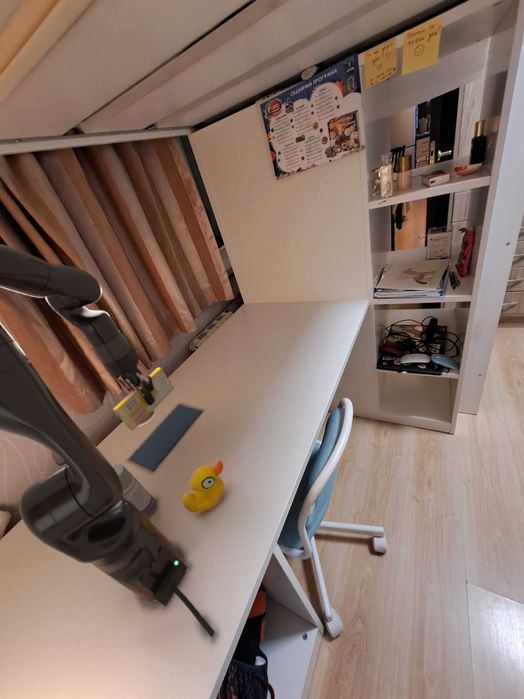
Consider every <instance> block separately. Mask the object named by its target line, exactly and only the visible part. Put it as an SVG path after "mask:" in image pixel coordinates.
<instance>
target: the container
mask: <svg viewBox="0 0 524 699" xmlns="http://www.w3.org/2000/svg"><path fill="white" fill-rule="evenodd" d="M112 467H113V468H114V469H115V471H116V473H117V474H118V476H119V478H120V481H121V483H122V486H123V496H122V499H126V500H128V501H130V502H131V503H133V504H134V505H135V506H136V507H137V508H138V509H139V510H140V511H141V512H142V513H143V514H144V515H145V516H146V517H147V518H148V517H150V516H151V515H152V514H153V512H154V511H155V509H156V507H157V501H156V499H155V498H154V497H153V496H152V495H151V493H149V491H148V490H147V489H146V487H145V486H144V485H142V483H141V482H140V481H139V480H138V479H137V478H136V477H135V476H134V475H133V474H132V472H130V471H129V470H128V469H127V467H126V466H124V464H122V463H119V462H118V463H115V464H113V465H112Z"/></svg>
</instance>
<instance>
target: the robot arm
mask: <svg viewBox="0 0 524 699" xmlns="http://www.w3.org/2000/svg"><path fill="white" fill-rule="evenodd" d="M0 288H3V289H6V290H8V291H12V292H16V293H18V294H22V295H26V296H29V297H32V298H33V297H34V298H42V299H43V298H45V300H46V302H47V303H48V305H49V306H50V307H51V308H52V310H54V312H56V314H58V315H59V316H61V317H62V318H63V319H64V320H65V321H67V322H68V323H69V324H70V325H71V326H73V327H75V329H77V330H78V331H79V332H80V333H81V335H82V336H83V338H84V339H85V340H86V342H87V343H88V344H89V346H90V347H91V349H92V350H93V353H94V355H95V356H96V357H97V359H98V360H99V362H100V363H101V365H102V366H103V367H104V368H105V369H106V372H108V374H109V375H110V376H112V377H113V378H114V379H116V381H117V382H118V383H120V385H121V386H123V388H125V389H126V391H127V392H130V393H131V392H132V391H133V390H135V391H138V392H139V393H140V394H141V396H142V397H143V399H144V400H145V401H146V403H147V404H148V405H150V406H151V405H152V404H153V403H154V402H155V398H154V397H153V395H152V394H151V392H152V391H153V390H154V388H153V383H152V378H151V377H150V376H149V375H147V376H145V375H143V372H142V370H140V368H138V365H139V362H140V359H139V357H138V355H137V354H136V352H135V351H134V349H133V347H132V346H131V345H130V343H129V341H128V339H127V338H126V337H125V335H123V333H122V332H121V331H120V330H119V328H118V326H117V325H116V323H115V321H114V320H113V318H112V317H111V316H110V314H109V313H108V312H107V311H105V310H91V309H89V308H87V306H90V305H93V304H95V303H97V302H98V301H99V300H100V299H101V297H102V294H103V293H102V292H103V289H102V286H101V283H100V282H99V281H98V279H97V278H96V277H95V276H94V275H93V274H91V273H90V272H88V271H86V270H84V269H82V268H79V267H74V266H70V265H66V264H61V263H54V262H49V261H46V260H44V259H42V258H39V257H37V256H35V255H33V254H30V253H28V252H26V251H24V250H21V249H18V248H16V247H14V246H9V245H5V244H1V243H0ZM142 389H143V391H142ZM0 431H1V432H5V433H9V434H14V435H16V436H19V437H23V438H25V439H28V440H31V441H33V442H35V443H38V444H40V445H42V446H43V447H45V448H46V449H48V451H51V453H52V452H53V453H55V454H56V455H57V456H58V457H59V458H61V459H62V460H63V461H64V462H65V463H66V464H64V465H63V466H59V467H57V468H56V469H54V470H53V471H51V472H49V473H47V474H46V475H44V476H43V477H41V478H39V479H38V480H36V481H34V482H33V483H31V484H30V485H28V486H27V487H26V488H25V490H24V491H23V493H22V494H21V497H20V500H19V514H20V517H21V520H22V522H23V524H24V525H25V527H26V528H27V530H28V531H29V532H30V533H31V534H32V535H33V536H34V537H35V538H36V539H38V540H39V541H40V542H42V543H43V544H44V545H46V546H48V547H50V548H51V549H54V550H55V551H58V552H59V553H62V554H63V555H65V556H67V557H69V558H71V559H72V560H74V561H76V562H78V563H81V564H91V565H92V566H94V567H96V568H97V569H98V570H100V571H101V572H102V573H104V574H106V575H107V576H108V577H110V578H111V579H113V580H114V581H116V582H117V583H119V584H120V585H121V586H123V587H125V588H126V589H127V590H129V591H130V592H132V593H133V594H135V595H137V596H138V597H139V598H140V599H141V600H143V601H144V602H146V603H149V604H157V603H160V604H161V605H163V606H164V607H167V606H168V604H169V602H170V601H171V599H172V597H173V596H174V594H175V595H176V596H177V598H178V599H180V600H181V602H182V603H183V604H184V605H185V606H186V608H187V609H188V610H189V611H190V612H191V614H192V615H193V616H194V618H195V619H196V620H197V621H198V623H199V624H200V625H201V627H202V628H203V629H204V631H206V632H207V634H208V635H209V636H210V637H213V636H214V634H215V630H214V629H213V627H211V625H210V624H209V623H208V622H207V620H205V618H204V617H203V616H202V615H201V613H200V611H199V610H198V609H197V608H196V606H195V605H194V604H193V603H192V602H191V601H190V600H189V598H187V596H186V594H184V593H183V591H181V590H180V589H179V588H178V587H179V586H180V584H181V583H182V580H183V578H184V576H185V575H186V571H187V569H188V566H187V564H186V563H185V558H184V554H183V552H182V551H181V549H180V548H179V547H177V546H176V545H175V544H174V543H173V542H172V541H171V540H169V538H168V537H167V536H166V535H165V534H163V532H162V531H161V530H160V529H159V528H157V527H156V525H155V524H153V522H152V521H151V520H150V519H148V517H146V516H145V515H144V514H143V513H142V512H141V511H140V510H139V509H138V508H137V507H136V506H135V505H134V504H133V503H131V502H130V501H128V500H126V499H122V496H123V486H122V483H121V481H120V478H119V476H118V474H117V473H116V471H115V469H114V468H113V467H112V466H113V465H112V463H110V461H109V460H108V459H107V458H106V456H105V455H104V453H103V452H102V451H101V449H99V448H98V447H97V446H96V444H94V443H93V441H92V440H91V439H90V438H89V437H88V436H87V435H86V433H85V432H84V431H83V430H82V429H81V428H80V426H79V425H78V424H77V423H76V422H75V421H74V419H73V418H72V417H71V416H70V415H69V414H68V412H67V411H66V410H65V409H64V407H63V406H62V404H61V403H60V402H59V400H58V399H57V397H56V396H55V395H54V393H53V392H52V391H51V389H50V388H49V387H48V385H47V384H46V383H45V381H44V379H43V378H42V376H41V375H40V374H39V372H38V371H37V369H36V368H35V366H34V365H33V363H32V362H31V360H30V359H29V357H28V356H27V355H26V353H25V352H24V351H23V350H22V348H21V347H20V346H19V344H18V342H17V341H15V339H14V337H13V336H12V335H11V334H10V333H9V332H8V330H7V329H6V328H5V327H4V326H3V324H2V323H1V322H0Z"/></svg>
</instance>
